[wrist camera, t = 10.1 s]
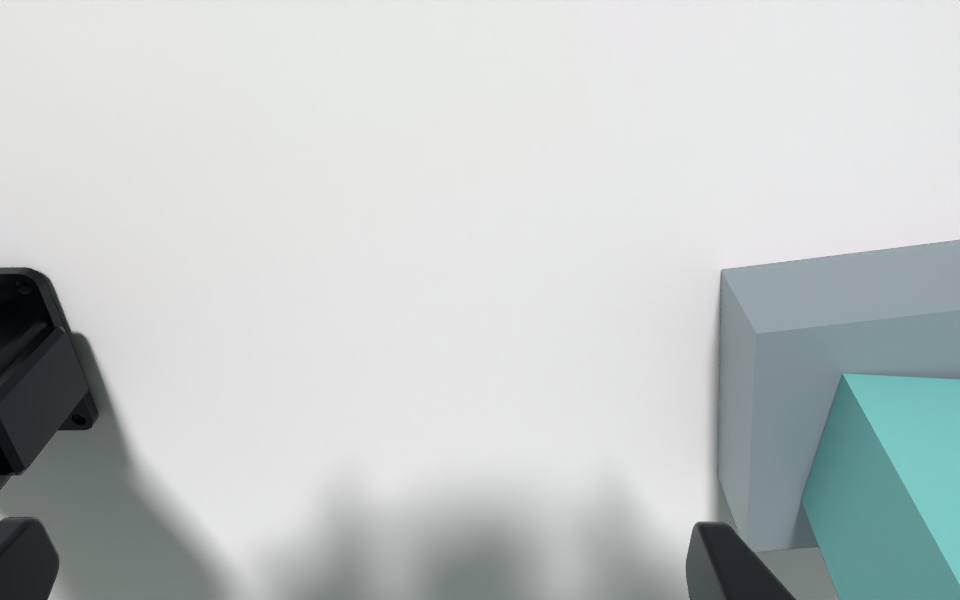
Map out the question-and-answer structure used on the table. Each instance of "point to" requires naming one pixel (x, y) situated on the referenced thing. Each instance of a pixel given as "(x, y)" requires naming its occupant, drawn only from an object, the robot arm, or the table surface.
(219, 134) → the table surface
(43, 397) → the robot arm
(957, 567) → the teal block
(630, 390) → the table surface
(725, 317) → the base brick
